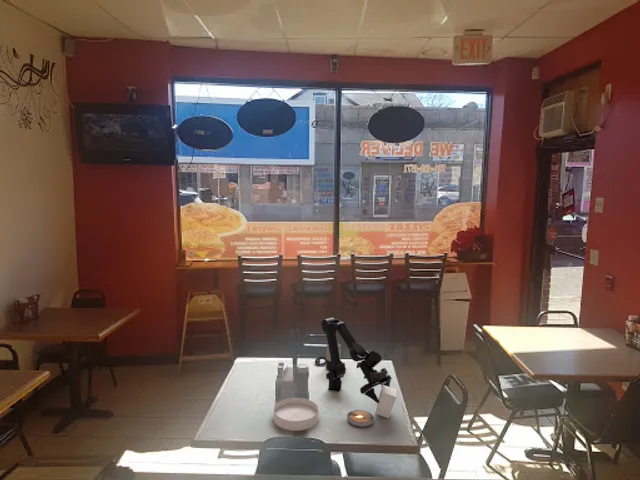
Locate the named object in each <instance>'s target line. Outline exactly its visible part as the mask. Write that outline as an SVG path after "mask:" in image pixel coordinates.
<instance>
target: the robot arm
mask: <svg viewBox="0 0 640 480" xmlns="http://www.w3.org/2000/svg"><path fill="white" fill-rule="evenodd" d="M320 325H321V328H322V331H323V333H324V334H325V335H326V339H327V344H328V345H329V351H330V357H331V364H330V371H329V372H328V373H326V374H325V377H326V379H327V380H328V387H327V390H328V391H330V392H331V391H332V392H340V390H341V389H342V387H343V386H342V385H343V384H342V383H343V381H342V378H344V376H345V375H346V370H347V368H346V363H345V362H343V361H342V360H341V358H340V356H339V350H338V345H337V343H338V339H337V332H338V334H339V335H340V337H341V339H342V340H343V341H344V343H345V344H346V346H347V348H348V349H349V355H350V357H351V359H352V360H353V361H354V362H356V369H360V370H361V372H362V374H363V379H364V380H366V381H367V383H366V384H364V385H362V387H360V388H359V392H360V393H361V395H363V396H366V397H368V398H370V399H372V400H373V401H374V402H376V404H377V403H379V400H378V398H379V397H378V396H377V395H376V392H375V387H377V386H379V385H381V387H380V388H382V387H383V385H385V386H388V387H391V386H390V385H391V382H392V379H393V378H392V376H391V375H390V374H389V372H388V370H387V369H386V367H384V368H381V369H380V370H379V371H378V370H377V369H374V368H375V367H376V366H377V365H378V364H380V363H381V362H382V356H381V354H379V353H378V352H377V351H375V350H373V349H372V350H370V352H369V351H367V350H366V349H365V348H364V347H363V346H362V345H360V344H359V343H358V342H357V341H356V339H355V338H354V336H353V335H352V333H351V332H350V330H349V329H348V328H347V325H346V323H345V322H344V321H341V320H340V319H335V318H334V317H329V318H325V319H323V320H322V322H321V324H320Z"/></svg>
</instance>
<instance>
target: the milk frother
mask: <svg viewBox="0 0 640 480" xmlns="http://www.w3.org/2000/svg"><path fill="white" fill-rule="evenodd" d="M337 345H338V350H339V356H340V359H341V354H342V353H341V351H342V344H341V343H339V342H337ZM321 360H324V362H323V363H321ZM314 364H315V365H316V366H320V367H321V366H325V369H326V370H327V371H329V372H330V364H331V357H330V351H329V345H328V343H326V357H325V356H318V357H317V358H316V359H314Z"/></svg>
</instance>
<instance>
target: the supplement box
mask: <svg viewBox="0 0 640 480" xmlns="http://www.w3.org/2000/svg"><path fill="white" fill-rule="evenodd" d="M397 392H398V390H397V389H396V388H393V387H392V386H390V387H388V386H385V385H383V387H381V389H380V392H379V396H378V397H377V398H378V400H379V403H377V402H376V404H375V409H374V414H375V415H378V416H381V417H384V418H387V419H390V416H391V413H392V410H393V409H394V405H395V402H396V399H397V394H398V393H397Z"/></svg>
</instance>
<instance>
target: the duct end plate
mask: <svg viewBox="0 0 640 480" xmlns="http://www.w3.org/2000/svg"><path fill="white" fill-rule="evenodd" d="M346 422H347V423H348V425H350V426H352V427H355V428H359V429H366V428H369V427H371V426H373V425H374V424H375V423H374V422H375V417H374V415H373V414H372V413H371V412H370V411H368V410H364V409H363V410H362V409H355V410H351V411H348V413H347V414H346Z"/></svg>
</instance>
